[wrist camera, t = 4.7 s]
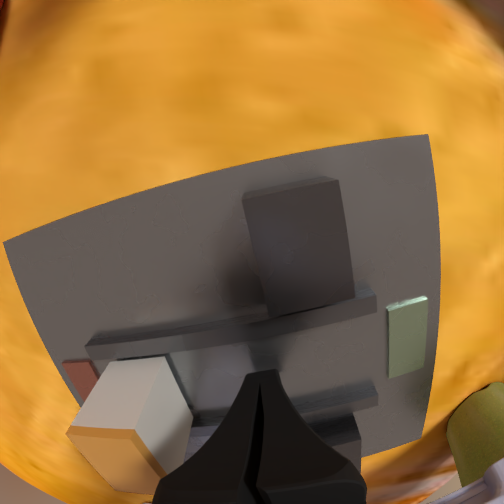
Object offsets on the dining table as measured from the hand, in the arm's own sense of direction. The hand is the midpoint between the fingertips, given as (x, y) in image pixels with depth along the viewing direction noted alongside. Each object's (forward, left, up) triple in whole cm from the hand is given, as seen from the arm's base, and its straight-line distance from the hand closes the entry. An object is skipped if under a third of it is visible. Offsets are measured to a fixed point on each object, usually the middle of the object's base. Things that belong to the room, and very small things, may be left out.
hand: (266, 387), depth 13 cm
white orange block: (-6, 0, -1) cm, 6 cm away
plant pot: (+15, -11, -3) cm, 19 cm away
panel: (-1, 0, -2) cm, 3 cm away
